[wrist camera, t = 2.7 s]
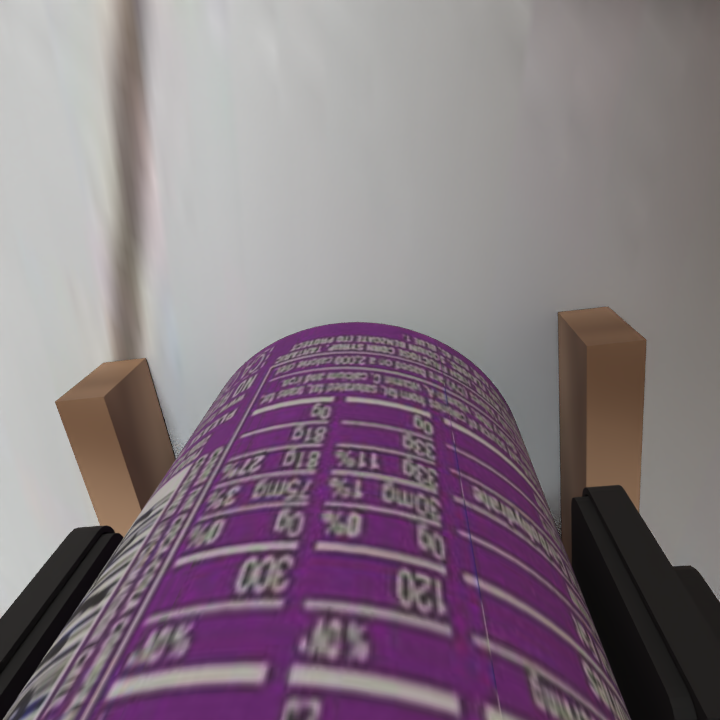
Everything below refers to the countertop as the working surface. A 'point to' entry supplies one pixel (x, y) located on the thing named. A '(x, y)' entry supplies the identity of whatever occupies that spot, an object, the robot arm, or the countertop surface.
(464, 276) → the countertop surface
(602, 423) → the guide channel
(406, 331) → the beverage can
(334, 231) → the countertop surface
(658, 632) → the robot arm
